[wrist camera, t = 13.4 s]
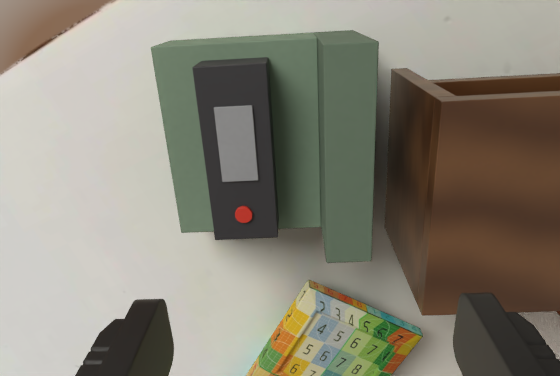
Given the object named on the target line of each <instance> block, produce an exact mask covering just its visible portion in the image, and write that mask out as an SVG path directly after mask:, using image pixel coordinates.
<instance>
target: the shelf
mask: <svg viewBox="0 0 560 376" xmlns="http://www.w3.org/2000/svg"><path fill="white" fill-rule="evenodd" d="M384 227H385V230H386V232H387V235H388V237H389V239H390V242H391V244H392V246H393V249H394V251H395V253H396V256H397V258H398V260H399V263H400V265H401V267H402V270H403V272H404V274H405V277H406V279H407V281H408V284H409V286H410V288H411V291H412V293H413V295H414V298H415V300H416V302H417V305H418V307H419V309H420V312H421V314H422V315H454V314H457V307H458V300H459V297H460V295H461V294H462V293H488V292H490V293H493V294H494V295H495V297H496V298H497V299H498V301H499V302H500V304H501V305H502V307H503V308H504V310H505V311H506V312H545V311H560V73H557V74H538V75H519V76H500V77H481V78H462V79H443V80H427V79H425V78H423V77H421V76H420V75H418V74H416V73H414V72H412V71H411V70H409V69H407V68H402V69H392V71H391V93H390V115H389V137H388V159H387V181H386V203H385V225H384Z"/></svg>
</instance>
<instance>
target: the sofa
mask: <svg viewBox="0 0 560 376" xmlns="http://www.w3.org/2000/svg"><path fill="white" fill-rule="evenodd" d="M378 45H379V42H378V41H376V40H373V39H371V38H369V37H367V36H364V35H362V34H360V33H357V32H355V31H353V30H350V31H333V32H315V33H298V34H281V35H263V36H246V37H229V38H211V39H194V40H176V41H168V42H165V43H162V44H159V45H156V46H153V47H151V52H152V58H153V64H154V70H155V76H156V82H157V88H158V94H159V100H160V106H161V112H162V118H163V124H164V130H165V136H166V142H167V148H168V154H169V160H170V167H171V173H172V179H173V185H174V191H175V197H176V203H177V209H178V215H179V221H180V227H181V232H182V233H187V232H211V231H214V227H213V220H212V212H211V205H210V197H209V190H208V182H207V175H206V167H205V160H204V152H203V145H202V137H201V130H200V122H199V115H198V107H197V100H196V92H195V85H194V77H193V69H192V67H193V66H195V65H196V64H198V63H199V62H201V61H207V60H225V59H242V58H260V57H268V58H269V73H270V88H271V104H272V119H273V135H274V150H275V166H276V181H277V197H278V212H279V226H278V229H285V228H310V227H321V229H322V236H323V242H324V249H325V256H326V262H327V263H336V262H362V261H371V256H372V225H373V195H374V165H375V135H376V105H377V75H378Z"/></svg>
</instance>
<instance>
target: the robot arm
mask: <svg viewBox="0 0 560 376" xmlns="http://www.w3.org/2000/svg"><path fill="white" fill-rule="evenodd" d="M453 348H454V354H455V358H456V361H457V363H458V365H459V368H460V370H461V372H462V374H463V376H560V361H559V359H556V355H555V354H554V353H553V351H552V350H551V349H550V347H549V346H548V345H546V342H545V340H544V339H543V338H542V336H541V335H540V333H539V332H538V331H537V329H536V328H535V327H534V325H532V324H531V323H530V322H528V321H527V320H526V319H524V318H523V317H522V316H520V315H519V314H518V313H516V312H506V311H505V310H504V308H503V307H502V305H501V304H500V302H499V301H498V299H497V298H496V297H495V295H494V294H493V293H490V292H488V293H462V294H461V295H460V297H459V300H458V307H457V314H456V321H455V328H454V335H453ZM173 354H174V344H173V337H172V332H171V327H170V322H169V317H168V312H167V307H166V303H165V301H164V300H163V299H143V300H135V301H134V302H133V304H132V306H131V307H130V309H129V311H128V313H127V315H126V317H125V319H115V320H114V321H113V322H111V323H110V324H109V325H108V326H107V327H106V328H105V329H104V330H103V331H101V332H100V333H99V335H98V337H97V339H96V340H95V342H94V344H93V346H92V347H91V351H90V352H89V353H88V354H87V356H86V358H85V360H84V361H83V365H81V367H80V368H79V370H78V372H77V374H76V375H75V376H168V375H169V372H170V369H171V365H172V361H173Z"/></svg>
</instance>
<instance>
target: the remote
mask: <svg viewBox="0 0 560 376" xmlns="http://www.w3.org/2000/svg"><path fill="white" fill-rule="evenodd" d="M192 69H193V77H194V85H195V92H196V100H197V107H198V115H199V122H200V130H201V137H202V145H203V152H204V160H205V167H206V175H207V182H208V190H209V197H210V205H211V212H212V220H213V227H214V235H215V240H224V239H249V238H273V237H278V226H279V212H278V197H277V181H276V166H275V150H274V135H273V119H272V104H271V88H270V73H269V58H268V57H260V58H242V59H225V60H207V61H201V62H199V63H198V64H196V65H195V66H193V67H192Z"/></svg>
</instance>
